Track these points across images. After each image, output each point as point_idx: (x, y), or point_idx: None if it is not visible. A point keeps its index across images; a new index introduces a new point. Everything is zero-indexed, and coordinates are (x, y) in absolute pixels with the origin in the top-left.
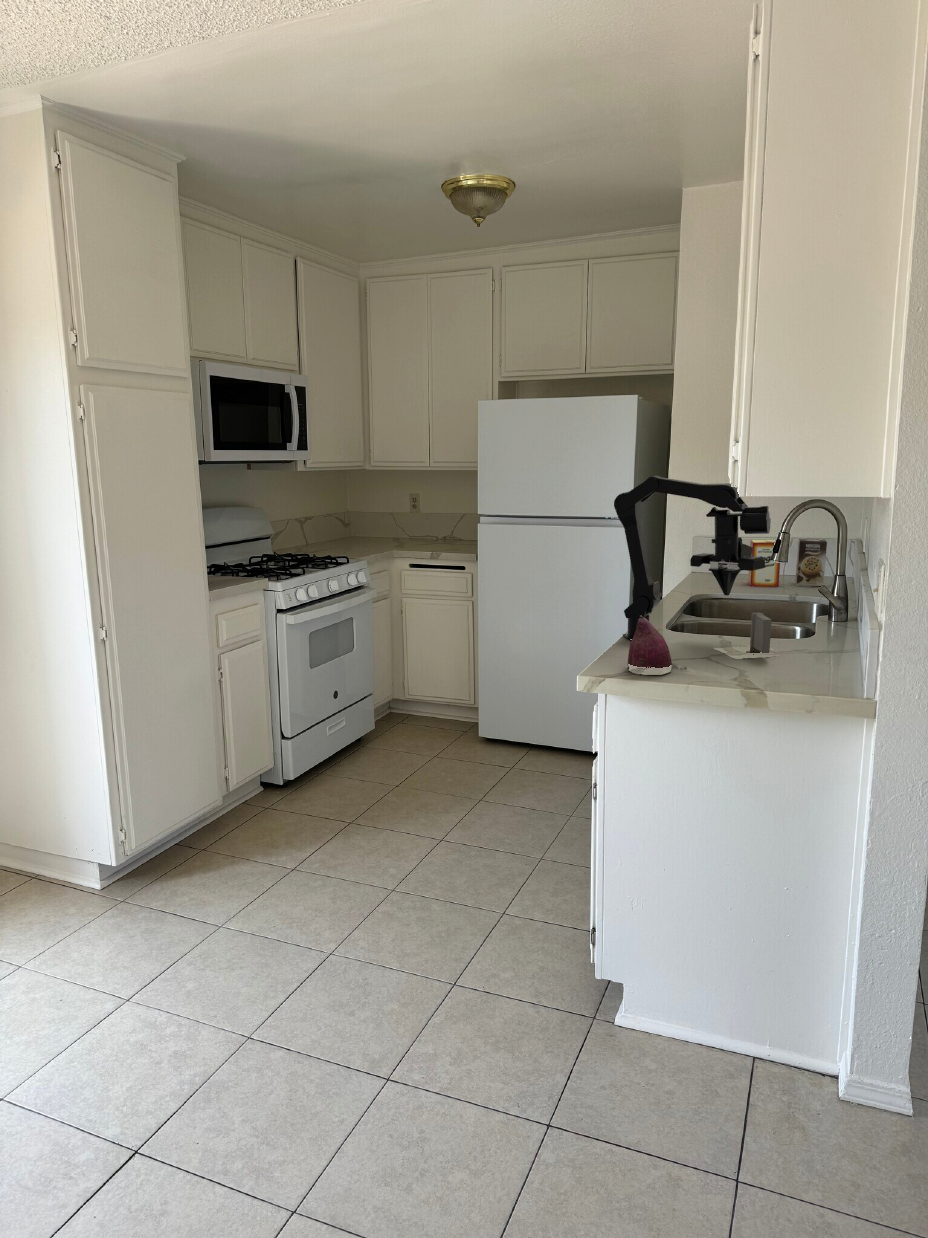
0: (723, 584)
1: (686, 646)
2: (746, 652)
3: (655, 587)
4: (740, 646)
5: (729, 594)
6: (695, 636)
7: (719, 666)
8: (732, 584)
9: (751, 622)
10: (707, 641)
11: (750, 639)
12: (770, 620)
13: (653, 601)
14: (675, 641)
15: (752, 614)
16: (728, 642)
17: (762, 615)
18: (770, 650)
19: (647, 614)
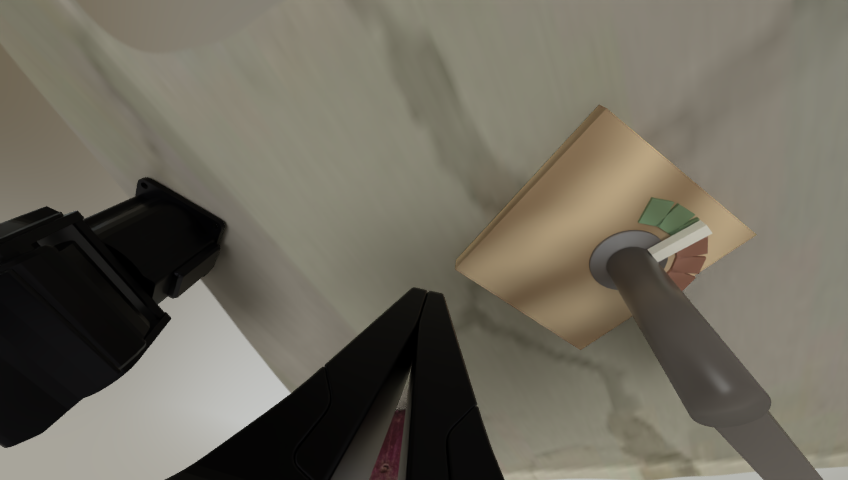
0: (384, 431)
1: (351, 233)
2: (595, 278)
3: (2, 394)
4: (541, 193)
5: (443, 296)
6: (266, 61)
7: (540, 364)
8: (467, 392)
9: (663, 369)
10: (358, 116)
11: (626, 304)
12: (814, 478)
13: (122, 364)
14: (280, 194)
15: (693, 418)
16: (435, 69)
17: (766, 432)
18: (696, 238)
19: (117, 266)
